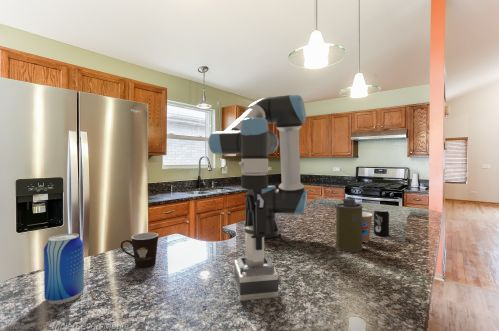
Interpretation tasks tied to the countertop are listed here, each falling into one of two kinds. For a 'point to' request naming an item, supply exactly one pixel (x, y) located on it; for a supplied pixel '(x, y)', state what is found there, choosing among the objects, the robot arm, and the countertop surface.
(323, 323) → the countertop surface
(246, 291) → the grey square holder base
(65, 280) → the beer can
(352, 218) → the canister
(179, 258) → the countertop surface
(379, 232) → the beverage can
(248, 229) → the beige and black cylinder
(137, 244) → the coffee mug
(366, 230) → the coffee cup
